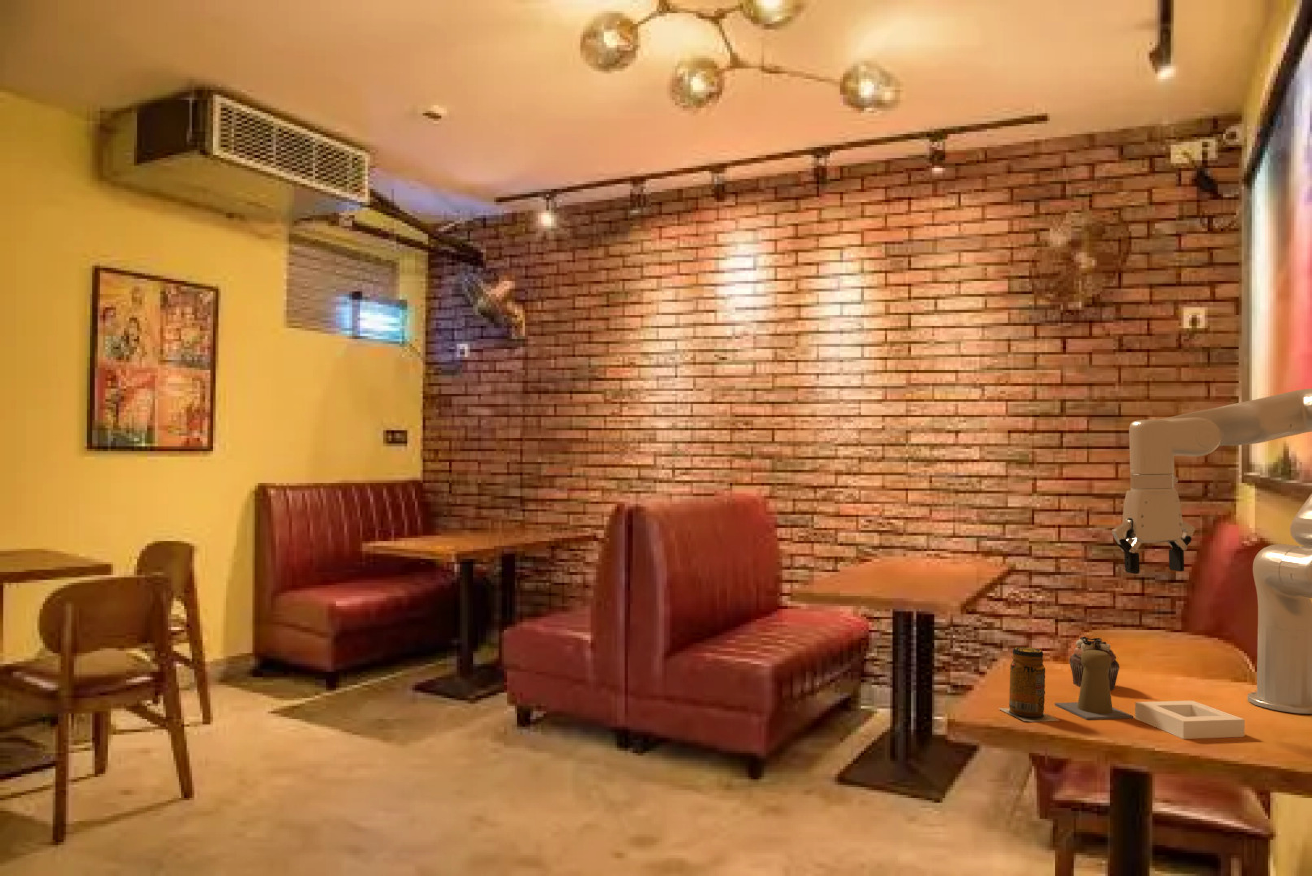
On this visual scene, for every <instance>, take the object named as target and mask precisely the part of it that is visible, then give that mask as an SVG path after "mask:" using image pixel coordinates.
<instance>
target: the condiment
mask: <svg viewBox="0 0 1312 876" xmlns="http://www.w3.org/2000/svg"><path fill="white" fill-rule="evenodd" d="M1011 656H1012V661H1011V662H1010V666H1009V667H1010V669H1009V699H1008V700H1009V701H1008V707H1009V708H1008V707H999V708H998V709H999V710H1000V711H1002V712H1005V713H1006V714H1008V715H1009V716H1010V715H1011V716H1012V717H1015V718H1016V719H1019V720H1022V721H1023V722H1037V723H1038V722H1039V723H1040V722H1045V723H1046V722H1057V721H1058V722H1059V721H1061V720H1060V719H1058V718H1056V717H1054V716H1052V715H1050V714H1047V713H1046V712H1045V701H1046V700H1045V699H1046V698H1045V695H1046V667H1045V664H1044V652H1043V651H1042V650H1041V649H1039V648H1034V647H1026V646H1017V647H1014V648H1013V649H1012V655H1011ZM1044 712H1045V713H1044Z"/></svg>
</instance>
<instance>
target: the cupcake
mask: <svg viewBox="0 0 1312 876" xmlns="http://www.w3.org/2000/svg"><path fill="white" fill-rule="evenodd" d="M1075 645H1076V647H1075V648H1074V649H1073V654H1071V655H1070V657H1069V659H1068V662H1069V665H1070V670H1071V675H1072V683H1073V685H1075V686H1076V685H1077V686H1076V687H1079V688H1081V682H1082V676H1083V670H1084V667H1083V665H1082V663H1081V655H1082V653H1083V652H1084V651H1086V650H1099V651H1103V652H1106V653H1107V654H1109V656H1110V658H1111V666H1110V668H1109V669H1108V677H1109V685H1110V691H1114V689H1115V686H1116V684H1117V683H1116V682H1117V678H1118V675H1119V670H1120V664H1119V662H1118V661H1117V656H1116V654H1115V653H1114V651H1113V650H1112V649H1111V645H1110V644H1109V643H1107V642H1106V641H1103V640H1102V638H1100V637H1094V638H1088V637H1087V636H1081V637H1080V638H1079V639H1078V640H1076V641H1075Z"/></svg>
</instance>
